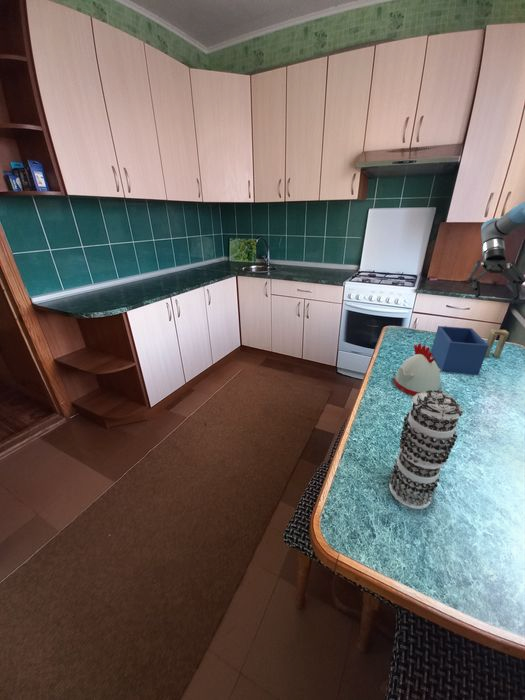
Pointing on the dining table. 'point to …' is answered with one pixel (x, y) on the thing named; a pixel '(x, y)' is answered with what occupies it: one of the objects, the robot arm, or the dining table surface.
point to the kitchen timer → (418, 373)
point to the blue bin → (459, 350)
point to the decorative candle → (424, 447)
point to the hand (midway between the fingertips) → (496, 297)
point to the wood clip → (500, 343)
